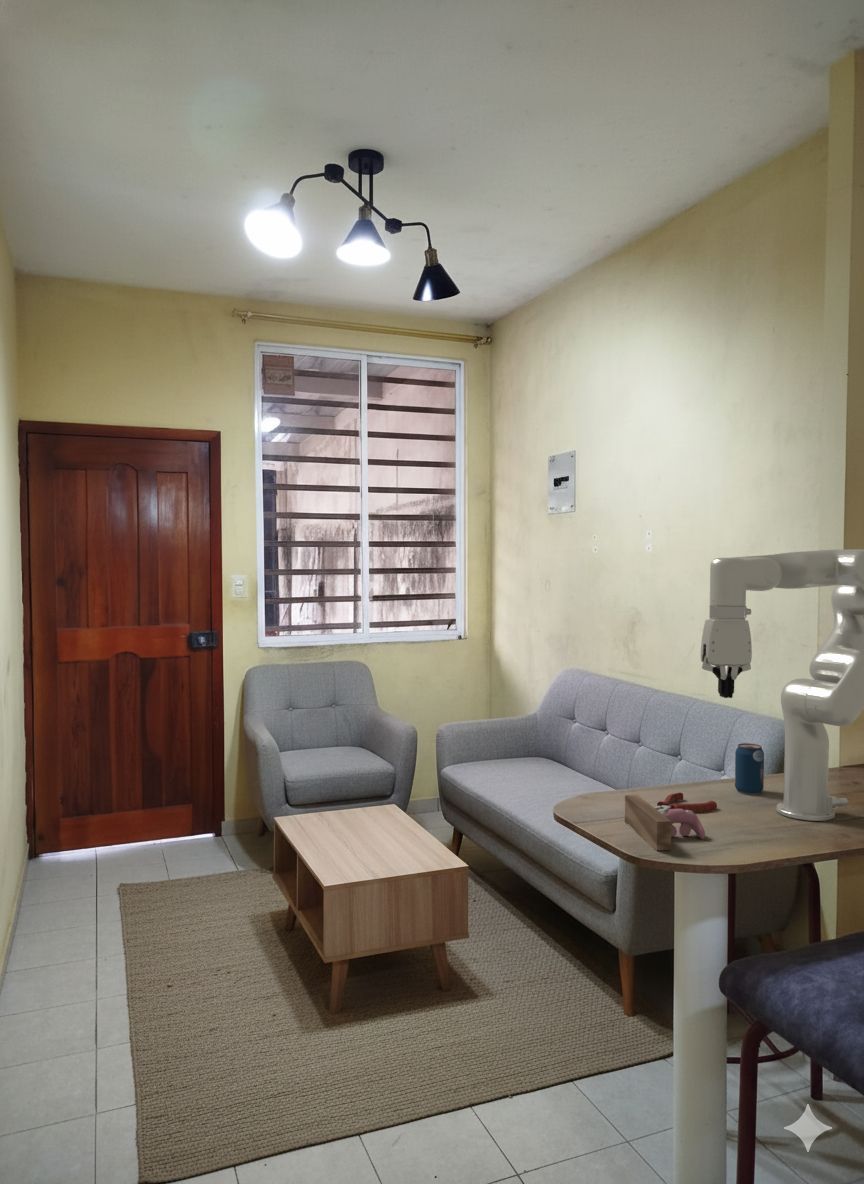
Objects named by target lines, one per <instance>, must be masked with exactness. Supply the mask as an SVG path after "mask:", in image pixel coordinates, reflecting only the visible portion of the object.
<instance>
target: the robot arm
mask: <svg viewBox="0 0 864 1184" xmlns="http://www.w3.org/2000/svg"><path fill="white" fill-rule="evenodd" d="M709 566H710V567H709V569H710V570H709V613H708V615H709V619H705V621H704V625H703V629H702V635H701V644H700V662H702V666H701V668H702V670H705V671H708V672H711V673H712V674H714V676H715V677H716V678H717V679H718V680H717V682H718V683H717V691H718V695H719V697H721V698H724V699H728V698H729V699H732V698H733V696H734V695H733V694H735V680H737V677H738V676H739V675H740V674H741V673H742V672H743V673H744V672H746V671H750V670H751V669H752V667H751V662H752V659H753V658H752V657H753V647H752V635H751V634H752V633H751V628H750V623H749V620H746V618H747V616H749V615H751V614H752V609H751V608H747V603H746V602H747V591H750V592H751V591H753V592H754V591H755V592H765V591H766V592H767V591H771V590H773V589H774V588H775V589H789V590H793V589H800V590H801V589H808V588H809V589H810V588H820V587H821V588H822V587H831V586H834V588H833V589H832V593H831V597H830V598H831V599H830V600H831V607H832V612H833V621H834V624H833V628H832V630H831V631H830V633H829V635H828V636H827V638H826V640H825V641H824V642H823V644H822V645H821V646H820V647H819V649H818V650H817V651H816V653H815V655H814V656H813V658H812V660H811V661H810V664H809V674H810V676H811V678H810V679H809V678H796V679H792V680H790V681H789V682H787V683H786V684H785V685H784V687H782V690H781V693H780V705H781V711H782V716H783V723H784V724H783V725H784V754H783V755H784V759H783V760H784V761H783V762H784V763H783V764H784V765H783V802H779V803H777V804H776V810H775V811H776V812H777V813H778V814H779V815H782V816H785V817H787V818H790V819H791V818H792V819H797V820H802V821H812V822H814V821H817V822H821V821H822V822H823V821H829V820H833V819H834V818H835V817H836V816H835V815H836V813H835V810H834V809H835V808H836V807H848V805H849V800H848V799H847V798H846V797H836V796H832V795H829V758H830V740H829V735H828V732H827V729H826V726H825V725H828V726H829V725H830V726H836V727H846V726H849V725H851V724H853V722H855V720H856V719H857V718H858V717H859V715H860V714H861V712H862V711H863V709H864V548H863V549H861V548H860V549H858V548H857V549H855V548H854V549H853V548H852V549H821V550H808V551H807V550H806V551H792V552H781V553H775V554H767V555H766V554H765V555H748V556H747V555H746V556H736V557H734V556H733V557H716V558H713V559H712V560H711V562H710V565H709ZM726 666H727V669H726ZM824 724H825V725H824Z"/></svg>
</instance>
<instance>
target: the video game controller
mask: <svg viewBox="0 0 864 1184" xmlns="http://www.w3.org/2000/svg"><path fill="white" fill-rule="evenodd" d="M660 813H661V814H663V815H664V816H665V817H666V818H668V819H669V820H670V821H671V838H672V837H675V836H676V835H677V834H678V833H679V834H680V836H682V837H687V836H689V835H690V834H691V830H692V831H694V832H695V835H696V837H698V838H699V839H700V840H705V838H706V832H705V829H704V827H703V824H702V822H701V821H700V819H699V817H698V815H697V813H693V811H691V810H683V809H669V810H666V811H663V812H660ZM673 824H680V825H679V827H678V830H677V828H676V826H675V825H673Z"/></svg>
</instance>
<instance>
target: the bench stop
mask: <svg viewBox="0 0 864 1184" xmlns="http://www.w3.org/2000/svg"><path fill="white" fill-rule="evenodd" d="M624 822H625V824H627V825H628V824H629V825H630V826H631V827H632V828H633V829H634V830H635V831H636V832H637V834H638V836H640V837H641V838H642V839H643V840H644V839H645V840H646V841H647V842H648V843H649V844H650V845H649V846H650V847H652V848H653V847H654V848H655V849H656V850H659V851H658V852H661V851H660V850H671V851H672V837H671V821H670V820H669V819H668V818H666V817H665V816H664V815H663V814H661V813H660V812H659V811H658V810H656V809H655V808H654V806H652V805H651V804H650V803H649V802H647V801H646V800H645V799H643V798H642V797H641V796H640V795H638V794H632V795H631V794H628V795H627V794H625V795H624ZM629 825H628V826H629ZM630 826H629V827H630ZM631 827H630V828H631ZM632 828H631V829H632ZM633 829H632V830H633ZM634 830H633V831H634ZM635 831H634V832H635ZM636 832H635V833H636ZM645 840H644V841H645ZM646 841H645V842H646ZM647 842H646V843H647ZM648 843H647V844H648ZM654 848H653V849H654ZM655 849H654V850H655ZM656 850H655V851H656Z"/></svg>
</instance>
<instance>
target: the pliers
mask: <svg viewBox="0 0 864 1184" xmlns="http://www.w3.org/2000/svg"><path fill="white" fill-rule="evenodd" d="M680 800H681V801H683V800H684V793H683V792H676V793H671V794H668V795H667V796H666V797H665V799H664V801H663V800H662V801H657V803H656V806H655V807H654V806H653V807H654V808H655V809H656V810H658V811H659V812H663V811H666V810H669V809H683V810H691V811H693V813H694V814H701V813H703V814H704V813H709V812H713V811H715V810H717V808H718V805H717V802H716V801H714V800H709V801H707V802H697V803H676V801H677V802H681V801H680ZM673 802H674V803H673Z"/></svg>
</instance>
